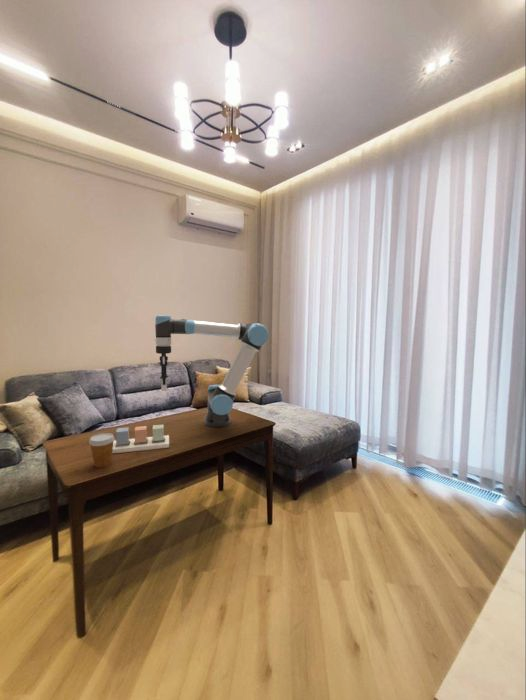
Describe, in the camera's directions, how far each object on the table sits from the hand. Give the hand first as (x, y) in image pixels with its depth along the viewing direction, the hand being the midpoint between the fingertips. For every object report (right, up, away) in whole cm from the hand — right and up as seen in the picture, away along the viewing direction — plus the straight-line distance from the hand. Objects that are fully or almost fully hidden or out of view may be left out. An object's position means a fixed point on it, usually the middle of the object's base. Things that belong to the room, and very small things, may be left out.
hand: (164, 390), depth 158 cm
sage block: (0, -23, -9) cm, 24 cm away
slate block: (-15, -23, -14) cm, 31 cm away
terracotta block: (-8, -23, -11) cm, 26 cm away
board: (-8, -26, -11) cm, 29 cm away
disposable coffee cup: (-16, -28, -30) cm, 44 cm away
